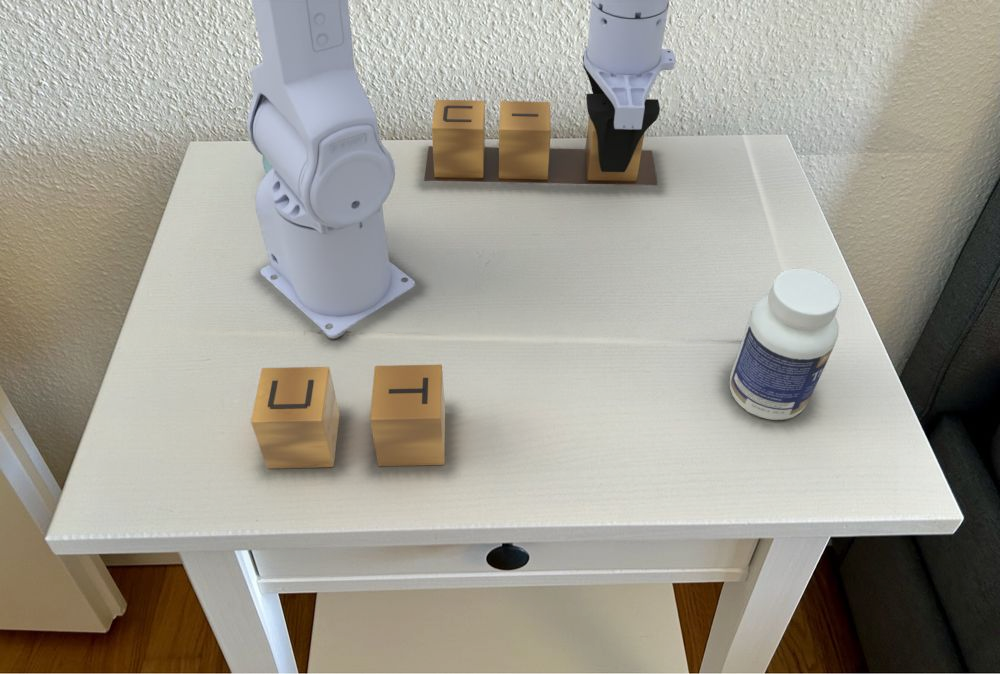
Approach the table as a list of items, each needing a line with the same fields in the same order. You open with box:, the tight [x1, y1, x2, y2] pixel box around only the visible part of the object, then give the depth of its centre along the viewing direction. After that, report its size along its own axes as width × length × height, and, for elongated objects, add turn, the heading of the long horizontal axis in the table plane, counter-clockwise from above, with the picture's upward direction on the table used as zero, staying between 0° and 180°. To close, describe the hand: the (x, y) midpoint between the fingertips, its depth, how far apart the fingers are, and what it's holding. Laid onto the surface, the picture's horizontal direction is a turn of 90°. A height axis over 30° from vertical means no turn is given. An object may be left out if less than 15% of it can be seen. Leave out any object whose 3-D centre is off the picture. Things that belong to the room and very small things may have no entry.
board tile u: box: [431, 99, 486, 178], centre depth 72 cm, size 4×4×5 cm
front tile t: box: [369, 364, 446, 467], centre depth 53 cm, size 4×4×5 cm
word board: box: [423, 145, 658, 186], centre depth 74 cm, size 20×5×1 cm, turn 89°
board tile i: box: [498, 100, 552, 180], centre depth 72 cm, size 4×4×5 cm
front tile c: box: [250, 366, 341, 470], centre depth 53 cm, size 4×4×5 cm
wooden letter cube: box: [585, 115, 645, 181], centre depth 72 cm, size 4×4×5 cm
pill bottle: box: [729, 267, 842, 421], centre depth 54 cm, size 5×5×10 cm
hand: (611, 152), depth 73 cm, fingers closed on wooden letter cube, 4 cm apart
